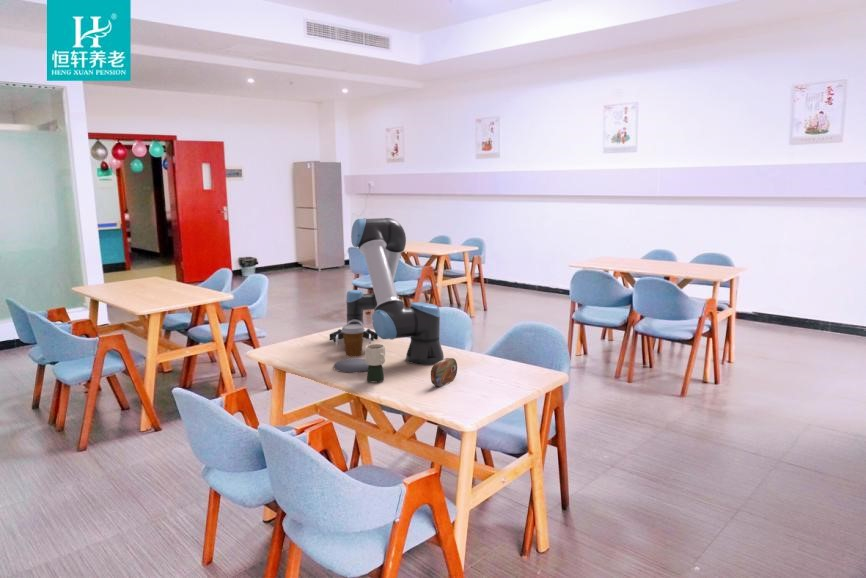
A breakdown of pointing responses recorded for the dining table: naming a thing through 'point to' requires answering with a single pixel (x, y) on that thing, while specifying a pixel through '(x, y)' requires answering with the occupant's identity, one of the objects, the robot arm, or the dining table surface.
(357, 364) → the mat
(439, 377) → the tin
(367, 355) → the character mug
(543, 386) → the dining table surface
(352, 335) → the disposable coffee cup
